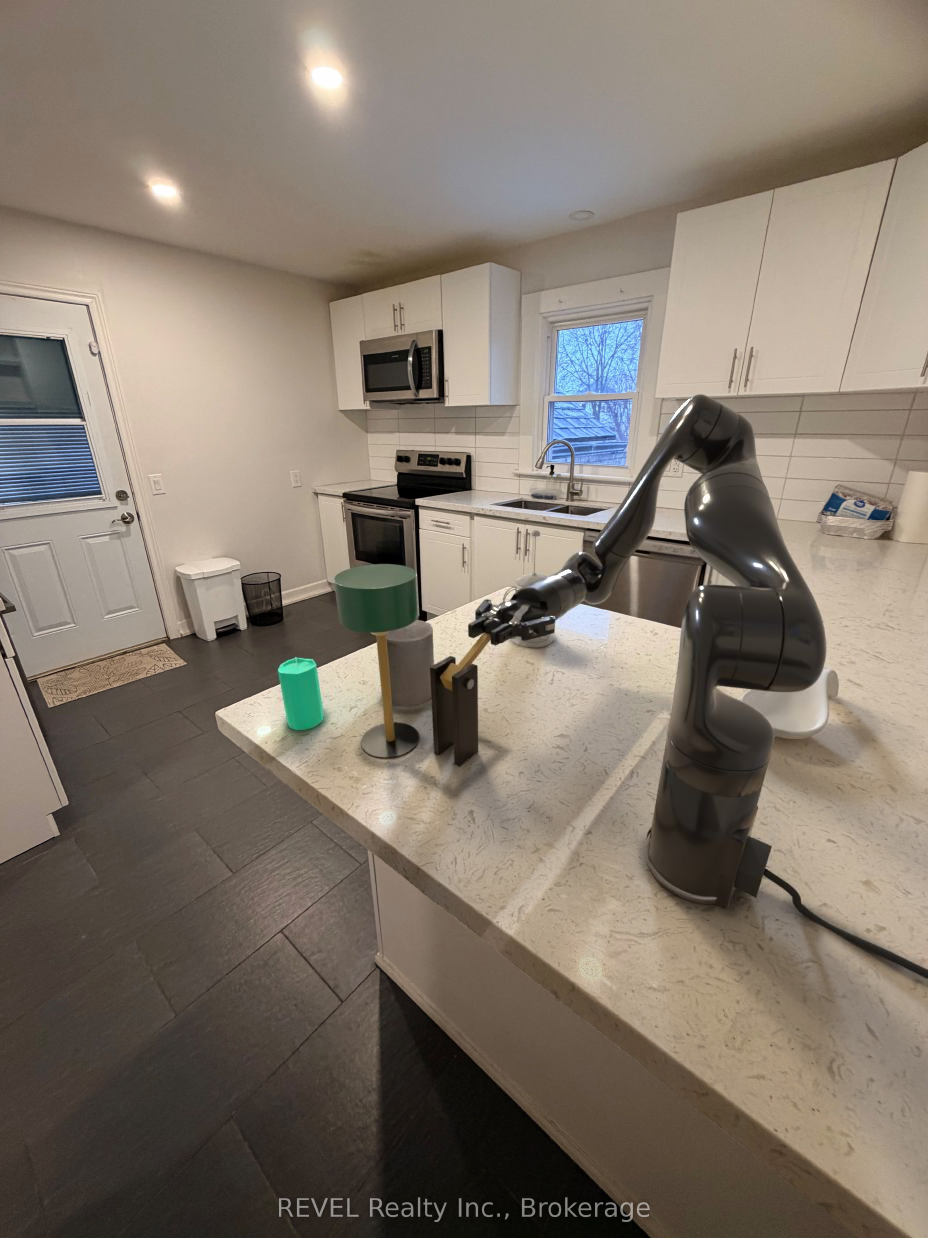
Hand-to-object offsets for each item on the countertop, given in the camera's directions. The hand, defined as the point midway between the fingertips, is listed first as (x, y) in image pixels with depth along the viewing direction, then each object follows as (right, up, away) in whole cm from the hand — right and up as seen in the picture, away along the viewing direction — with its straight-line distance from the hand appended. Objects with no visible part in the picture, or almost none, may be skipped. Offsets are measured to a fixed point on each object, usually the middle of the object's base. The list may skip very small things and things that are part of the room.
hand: (481, 635), depth 71 cm
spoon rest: (+53, -14, +12) cm, 56 cm away
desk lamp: (-12, -18, +4) cm, 22 cm away
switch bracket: (-4, -19, +2) cm, 19 cm away
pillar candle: (-13, -12, +19) cm, 26 cm away
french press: (+12, -2, +42) cm, 44 cm away
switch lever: (-1, -4, +1) cm, 4 cm away
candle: (-30, -15, +13) cm, 36 cm away
